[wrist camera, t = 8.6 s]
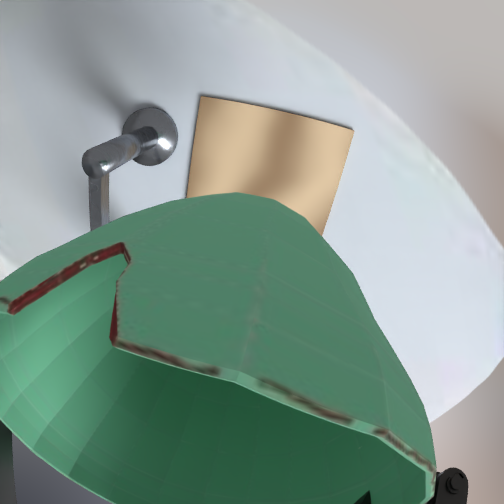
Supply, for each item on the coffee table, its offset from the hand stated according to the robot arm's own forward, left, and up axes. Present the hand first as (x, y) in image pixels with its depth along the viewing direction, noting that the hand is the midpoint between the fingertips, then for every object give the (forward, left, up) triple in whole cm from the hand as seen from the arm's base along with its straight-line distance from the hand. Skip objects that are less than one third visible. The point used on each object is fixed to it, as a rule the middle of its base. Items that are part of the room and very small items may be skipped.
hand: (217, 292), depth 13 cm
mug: (-1, 0, -1) cm, 1 cm away
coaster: (0, 0, -15) cm, 15 cm away
